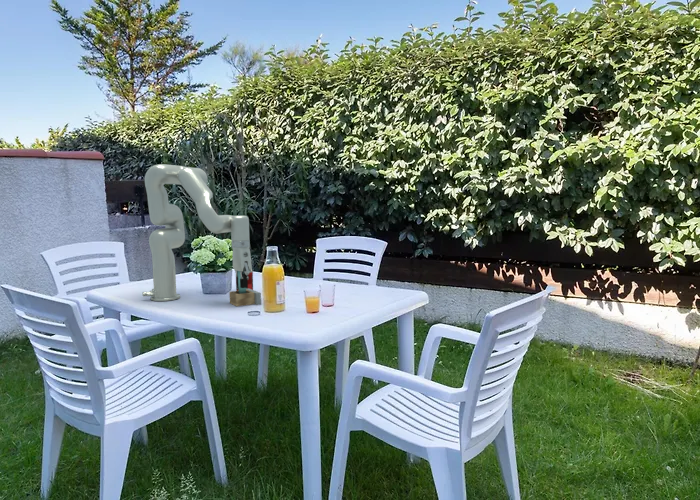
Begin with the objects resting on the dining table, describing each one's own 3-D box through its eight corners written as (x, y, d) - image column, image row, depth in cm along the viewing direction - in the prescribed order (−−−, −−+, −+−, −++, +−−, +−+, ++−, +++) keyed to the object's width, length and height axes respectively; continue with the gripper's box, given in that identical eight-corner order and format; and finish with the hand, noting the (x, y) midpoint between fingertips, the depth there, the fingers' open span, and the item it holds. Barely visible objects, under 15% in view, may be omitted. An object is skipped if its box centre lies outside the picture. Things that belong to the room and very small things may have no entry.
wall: (256, 304, 209) (256, 293, 208) (245, 299, 218) (244, 288, 218) (260, 304, 210) (260, 292, 209) (249, 299, 219) (249, 288, 219)
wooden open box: (237, 306, 206) (236, 294, 205) (229, 303, 212) (229, 291, 211) (254, 304, 210) (254, 292, 210) (246, 300, 217) (246, 289, 216)
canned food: (232, 294, 231) (232, 271, 230) (244, 291, 238) (243, 268, 237) (245, 295, 228) (245, 272, 226) (256, 292, 235) (255, 269, 233)
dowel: (240, 293, 208) (239, 270, 207) (237, 292, 211) (236, 269, 210) (247, 292, 210) (246, 269, 209) (244, 291, 213) (243, 269, 212)
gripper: (257, 245, 204) (258, 288, 206) (241, 242, 217) (242, 283, 219) (240, 246, 199) (241, 291, 201) (224, 243, 213) (226, 285, 215)
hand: (242, 286), depth 210 cm, fingers closed on dowel, 3 cm apart
